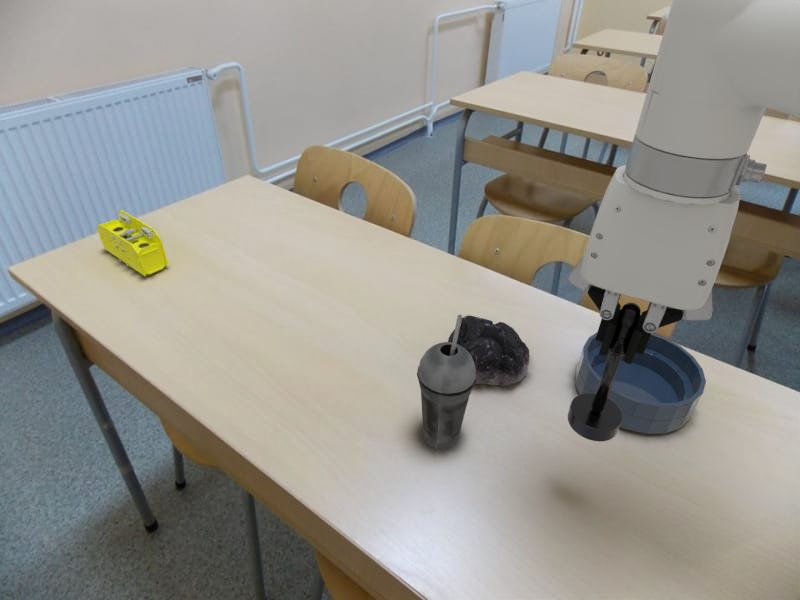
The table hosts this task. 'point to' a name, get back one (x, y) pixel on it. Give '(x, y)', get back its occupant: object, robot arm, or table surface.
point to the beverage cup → (445, 390)
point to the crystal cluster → (493, 350)
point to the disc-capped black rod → (605, 386)
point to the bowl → (647, 384)
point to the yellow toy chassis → (133, 243)
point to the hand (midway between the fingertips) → (617, 350)
